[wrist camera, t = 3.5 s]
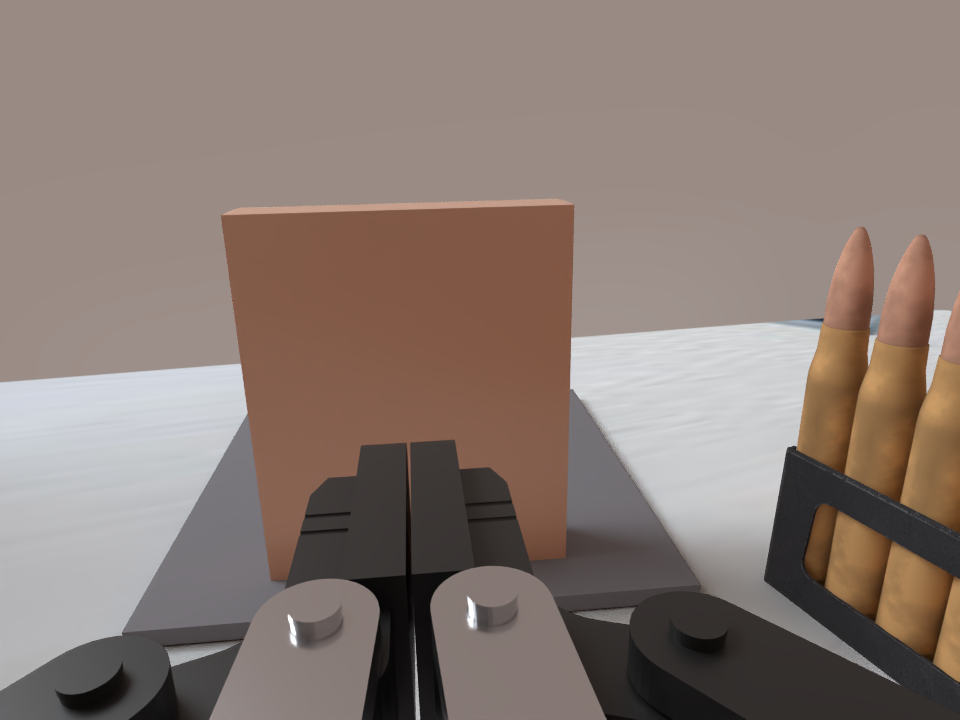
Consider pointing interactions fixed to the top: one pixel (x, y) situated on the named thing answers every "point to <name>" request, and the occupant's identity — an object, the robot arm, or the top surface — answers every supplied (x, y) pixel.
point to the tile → (405, 347)
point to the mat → (572, 582)
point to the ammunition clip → (879, 479)
